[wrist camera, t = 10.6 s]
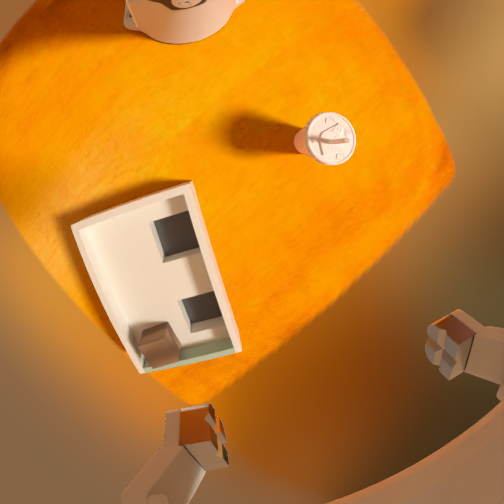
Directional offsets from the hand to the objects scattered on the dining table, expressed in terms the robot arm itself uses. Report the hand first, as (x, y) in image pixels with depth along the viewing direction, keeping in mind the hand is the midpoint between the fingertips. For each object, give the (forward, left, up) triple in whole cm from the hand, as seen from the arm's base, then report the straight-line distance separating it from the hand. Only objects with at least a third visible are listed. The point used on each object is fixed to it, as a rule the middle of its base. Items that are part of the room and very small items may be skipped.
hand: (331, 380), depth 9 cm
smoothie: (-7, +12, -34) cm, 37 cm away
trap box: (+7, -13, -34) cm, 37 cm away
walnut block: (+15, -17, -31) cm, 38 cm away
